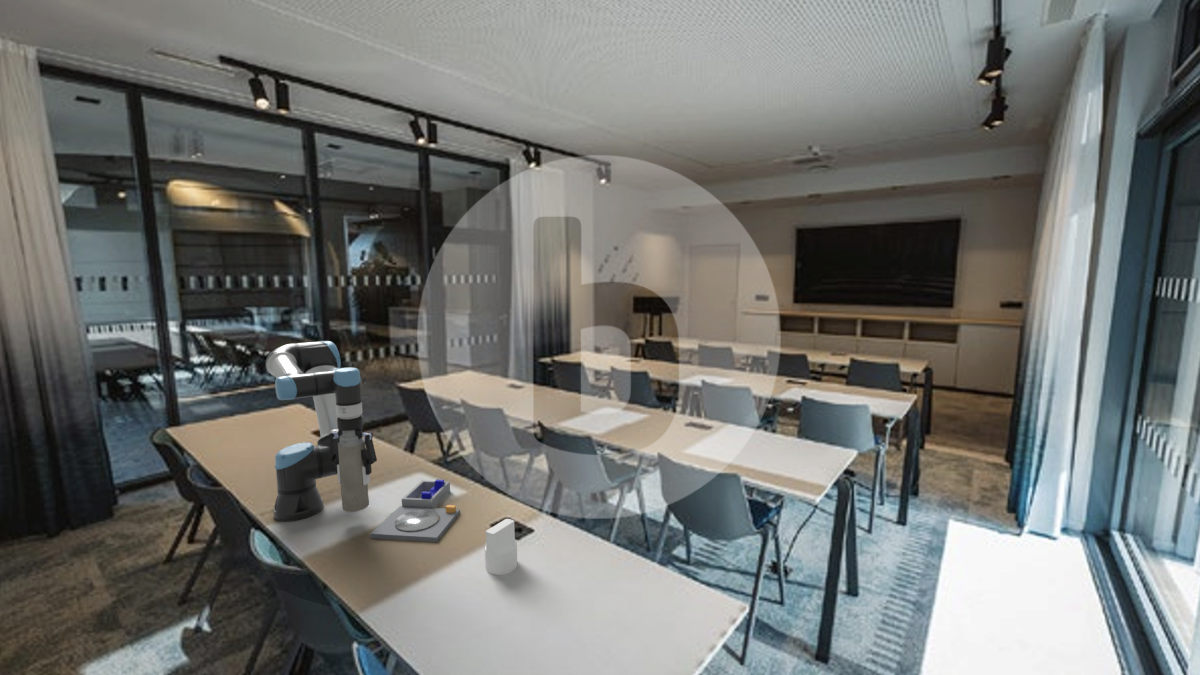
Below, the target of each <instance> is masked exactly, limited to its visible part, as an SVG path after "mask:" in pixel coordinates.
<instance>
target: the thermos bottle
mask: <svg viewBox="0 0 1200 675" xmlns="http://www.w3.org/2000/svg"><path fill="white" fill-rule="evenodd" d="M342 433H343V434H342V435H341V436H340V439H339V440H340V442H339V443H338V454H339V468H340V482H341V484H340V493H341V508H342V509H341V510H342V511H344V512H346V513H354V512H355V513H356V512H360V511H364V510H365V509H367V508H368V507H369V505H370V502H369V501H370V499H369V485H368V484H369V483H368V484H367V485H363V473H362V466H363V465H364V463H363V461H362V459H361V450H363V449H364V448H366V446H365V440H364V437H361V438H360V440H359V439H358V436H356V435H355V430H351V431H342Z"/></svg>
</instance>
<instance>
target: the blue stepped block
mask: <svg viewBox="0 0 1200 675" xmlns="http://www.w3.org/2000/svg"><path fill="white" fill-rule="evenodd" d="M434 481H435V487H432V488H431V489H430V491H429V492H427V491H423V492H422V493H421V495H420V499H431V498H432V497H433V495H434V494H435V493H436V492H437V491H438V490H439V489H440V488H441V487H442V486H443V485H444V482H445V479H435V480H434Z"/></svg>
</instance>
